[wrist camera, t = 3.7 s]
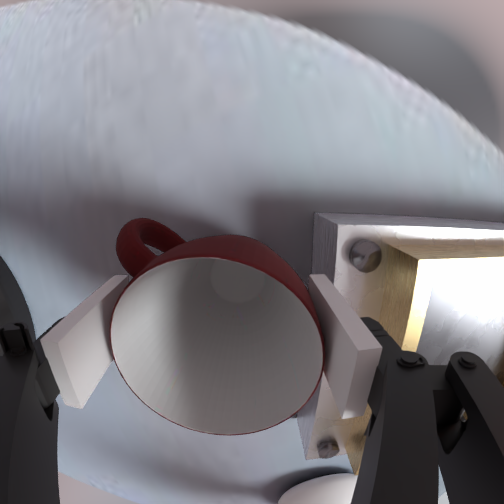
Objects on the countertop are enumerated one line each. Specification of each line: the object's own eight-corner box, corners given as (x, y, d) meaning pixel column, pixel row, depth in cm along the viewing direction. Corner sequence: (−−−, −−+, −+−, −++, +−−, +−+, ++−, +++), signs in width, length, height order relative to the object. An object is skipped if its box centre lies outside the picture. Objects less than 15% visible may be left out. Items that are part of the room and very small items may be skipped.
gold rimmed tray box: (296, 418, 23) (312, 488, 15) (314, 212, 19) (361, 236, 11) (504, 367, 24) (539, 400, 16) (541, 226, 20) (591, 243, 12)
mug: (131, 273, 20) (46, 340, 10) (182, 171, 18) (99, 167, 8) (258, 347, 21) (250, 456, 11) (322, 256, 19) (372, 331, 9)
